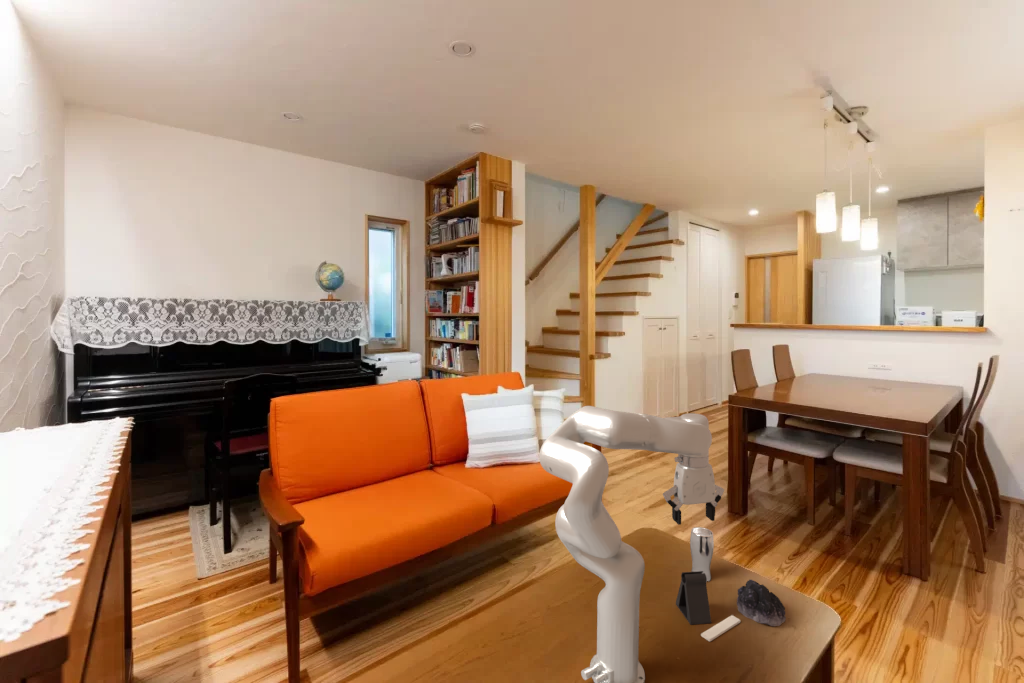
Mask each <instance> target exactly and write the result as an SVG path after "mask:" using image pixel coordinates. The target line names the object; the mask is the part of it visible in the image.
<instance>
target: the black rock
mask: <svg viewBox="0 0 1024 683" xmlns="http://www.w3.org/2000/svg"><path fill="white" fill-rule="evenodd" d="M736 600H737V601H736V605H737V611H738V612H739V613H740V614H742V615H743V616H744V617H746V618H747V619H750V620H752V621H755V622H756V623H760V624H761V625H762V624H763V625H765V624H766V625H768V626H770V627H776V626H777V627H780V626H781V625H782V624H783V623H785V622H786V620H787V619H786V611H785V610H786V607H785V606H784V604H783V603H782V601H781V600H780V598H779V597H778V596H777V595H776V594H775V593H773V592H770V590H769V588H768V587H767V586H765V585H764V584H760V583H759V582H758V581H755V580H753V579H748V580H747V581H746V582H745V585H742V586H741V587H739V588H738V589H737V599H736Z"/></svg>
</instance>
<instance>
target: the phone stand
mask: <svg viewBox="0 0 1024 683" xmlns="http://www.w3.org/2000/svg"><path fill="white" fill-rule="evenodd" d="M702 572H703V571H698V572H691V571H684V572H683V571H682V572H681V573H680V574H681V575H680V578H681V579H680V580H681V581H680V585H679V587H678V588H679V589H678V593H677V597H676V600H675V606H676V607H677V609H679V611H680V613H681V614H682V615H683V617H684V618H685V619H686V621H687V622H688V623H689V625H691V626H692V625H704V624H712V617H711V610H710V609H711V608H710V602H709V601H710V600H709V595H708V594H709V593H708V589H707V588H708V587H707V578H706V575H705V573H702Z"/></svg>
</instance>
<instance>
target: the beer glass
mask: <svg viewBox="0 0 1024 683" xmlns="http://www.w3.org/2000/svg"><path fill="white" fill-rule="evenodd" d="M690 530H691V532H690V539H689V540H690V541H689V543H690V544H689V547H690V555H691V561H692V563H691V564H692V566H691V571H690V572H698V571H703V572H702V573H705V575H706V578H707V581H708V582H711V580H712V574H711V563H712V561H713V560H712V559H713V554H714V532H713V531H712V530H711V529H708V528H706V527H702V526H694V527H692V528H691V529H690Z"/></svg>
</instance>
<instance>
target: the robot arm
mask: <svg viewBox="0 0 1024 683" xmlns="http://www.w3.org/2000/svg"><path fill="white" fill-rule="evenodd" d="M709 425H710V422H709V419H708V417H707V416H706V415H704V414H701V413H694V412H693V413H690V412H689V413H683V414H681V415H680V416H665V417H661V416H657V415H652V414H648V413H639V412H638V413H637V412H628V411H619V410H611V409H606V408H602V407H598V406H597V407H596V406H594V405H585V406H582V407H580V408H578V409H577V410H576V411H574V412H573V413H571V414H570V415H569V416H568V417H567V418H566V419H565V420H564V421H563V422H562V423H561V424H560V425H559V426H558V427H557V428H556V429H555V430H553V432H552V433H551V434H550V435H549V436H548V437H547V438H546V439H545V441H543V443H542V445H541V446H540V449H539V455H538V458H539V463H540V466H541V467H542V469H543V470H544V471H545V472H546V473H548V474H550V475H552V476H554V477H556V478H559V479H562V480H564V481H566V482H569V483H570V484H572V486H571V488H570V491H569V493H568V496H567V498H566V499H565V501H564V504H562V505H561V506H560V508H558V511H557V513H556V515H555V522H554V524H555V532H556V534H557V536H558V538H559V540H560V541H561V543H562V545H564V547H565V548H566V549H567V551H568V552H569V554H570V555H571V556H572V557H573V559H574V560H575V562H576V563H578V565H580V566H581V567H583V568H584V569H586V570H587V571H589V572H590V573H592V574H594V575H596V576H597V577H598V578H600V579H601V580H602V581H604V583H605V586H604V587H603V588H602V589H601V590H600V591H599V594H598V596H597V603H596V604H597V606H596V609H597V610H596V612H597V615H596V616H597V617H596V618H597V620H596V621H597V622H596V628H597V629H596V654H594V655H593V656H592V658H591V660H590V663H589V666H588V667H586V668H584V669H582V670H581V671H580V674H581V678H582V679H583V680H584V681H587V680H589V679H590V678H591V679H592V680H593V683H645V681H646V674H645V670H644V668H643V665H642V664H641V663H640V661H639V644H640V643H639V642H640V641H639V639H640V638H639V637H640V636H639V634H640V633H639V632H640V628H639V627H640V597H641V596H640V595H641V588H642V583H643V579H644V576H645V567H646V565H645V560H644V558H643V556H642V554H641V553H640V552H639V551H638V550H637V549H636V548H635V547H633V546H632V545H630V544H628V543H626V542H624V541H622V536H621V532H620V529H619V527H618V525H617V524H616V523H615V521H614V519H613V518H612V516H611V515H610V512H608V509H607V508H606V506H605V505H604V503H603V501H602V500H603V494H604V490H605V487H606V485H607V481H608V478H609V472H610V469H609V468H610V467H609V463H608V459H607V458H606V456H605V455H604V453H602V452H601V451H600V450H598V449H596V448H594V447H592V446H590V445H588V444H584V443H585V442H586V443H590V444H594V445H597V446H600V447H603V448H605V449H606V448H607V449H612V450H635V451H636V450H637V451H638V450H639V451H649V452H656V453H669V454H674V455H675V454H677V456H674V461H675V463H676V466H675V470H674V471H675V472H674V475H673V476H674V478H673V486H671V488H669V489H667V490H666V491H664V492H663V493H662V496H663V498H664V500H665V502H666V503H667V504H668V505H669V506H670V507H671V512H672V513H671V514H672V515H671V518H672V520H673V521H674V522H675V523H676V524H677V525H681V524H682V510H681V509H680V508H682V506H683V505H684V506H685V505H686V506H687V505H688V506H689V505H699V504H705V516H706V518H708V519H709V520H710V521H711V522H714V521H715V516H716V507H717V506H718V503H719V502H720V500H722V497H723V494H724V492H725V489H724V488H723V487H721V486H719V485H717V484H716V482H715V481H716V480H715V475H714V469H713V465H712V464H710V462H709V461H710V458H709V457H710V455H709V453H710V452H709V451H710V448H711V446H712V443H713V436H712V435H713V434H712V432H711V431H710V426H709ZM672 496H674V497H673V499H672V498H671V497H672Z"/></svg>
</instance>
